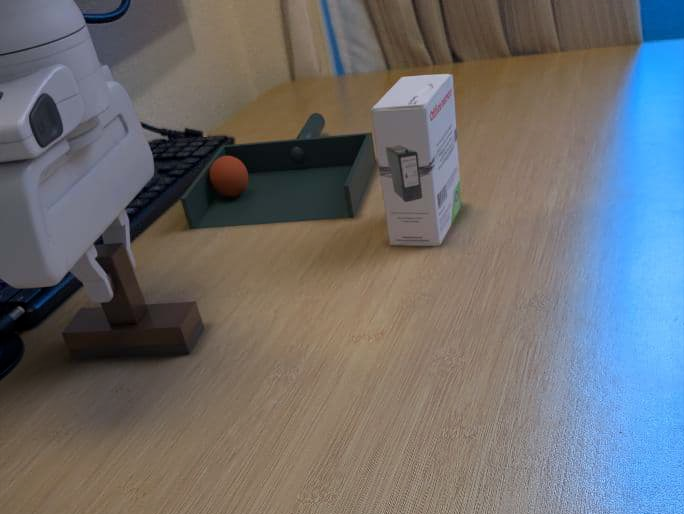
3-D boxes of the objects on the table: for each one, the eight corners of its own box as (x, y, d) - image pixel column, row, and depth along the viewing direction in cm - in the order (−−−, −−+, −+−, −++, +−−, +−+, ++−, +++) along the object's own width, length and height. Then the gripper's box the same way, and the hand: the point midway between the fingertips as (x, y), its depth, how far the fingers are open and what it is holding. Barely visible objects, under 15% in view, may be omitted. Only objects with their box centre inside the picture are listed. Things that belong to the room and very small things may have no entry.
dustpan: (353, 218, 80) (348, 185, 78) (189, 229, 83) (180, 198, 81) (389, 128, 98) (386, 99, 96) (253, 140, 101) (247, 112, 98)
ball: (239, 143, 85) (262, 178, 87) (218, 154, 87) (241, 188, 90) (216, 164, 83) (240, 199, 85) (195, 175, 86) (219, 209, 88)
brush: (73, 360, 66) (30, 266, 61) (92, 334, 69) (53, 243, 63) (190, 355, 64) (156, 258, 59) (205, 329, 67) (174, 234, 62)
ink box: (414, 207, 80) (399, 73, 72) (464, 207, 78) (454, 70, 70) (387, 246, 74) (368, 106, 66) (440, 247, 73) (426, 104, 65)
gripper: (59, 50, 62) (126, 230, 71) (-91, 149, 47) (18, 358, 57) (137, 41, 60) (194, 225, 70) (8, 139, 46) (102, 354, 55)
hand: (115, 285), depth 63 cm, fingers closed on brush, 2 cm apart
